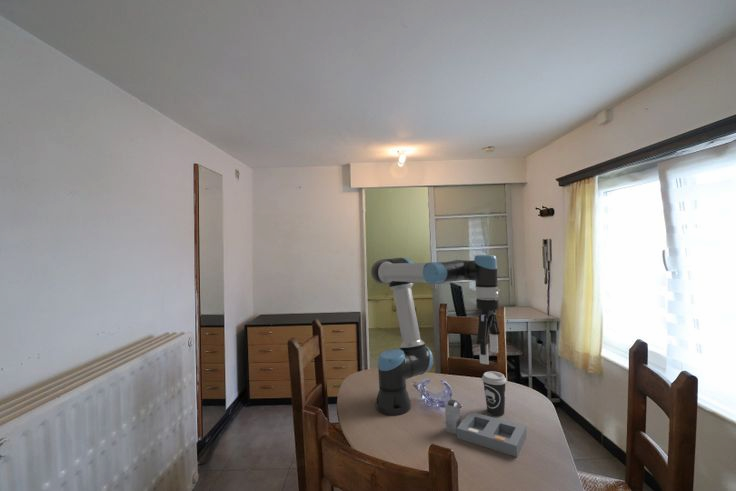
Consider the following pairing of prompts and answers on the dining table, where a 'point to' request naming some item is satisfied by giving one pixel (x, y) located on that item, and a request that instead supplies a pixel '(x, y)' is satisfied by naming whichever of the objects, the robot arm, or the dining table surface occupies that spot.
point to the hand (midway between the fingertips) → (489, 357)
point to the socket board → (492, 433)
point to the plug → (452, 416)
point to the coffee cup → (494, 392)
